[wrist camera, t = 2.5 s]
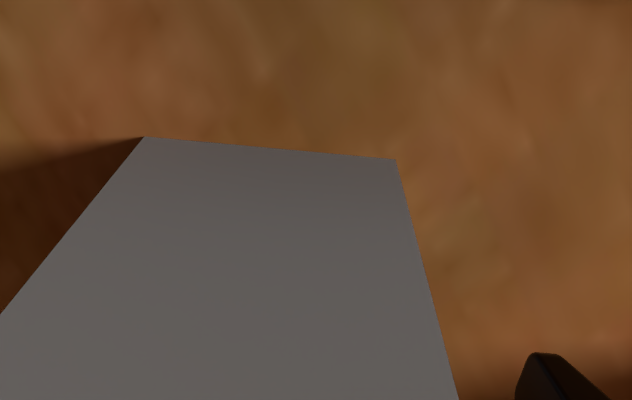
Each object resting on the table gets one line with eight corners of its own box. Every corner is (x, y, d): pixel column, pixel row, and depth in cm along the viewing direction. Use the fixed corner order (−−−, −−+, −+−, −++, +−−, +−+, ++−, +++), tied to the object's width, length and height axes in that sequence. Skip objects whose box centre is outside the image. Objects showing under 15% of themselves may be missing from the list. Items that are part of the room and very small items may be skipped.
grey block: (159, 325, 11) (17, 674, 6) (144, 136, 9) (-93, 430, 4) (362, 342, 12) (389, 698, 6) (395, 158, 9) (478, 472, 4)
